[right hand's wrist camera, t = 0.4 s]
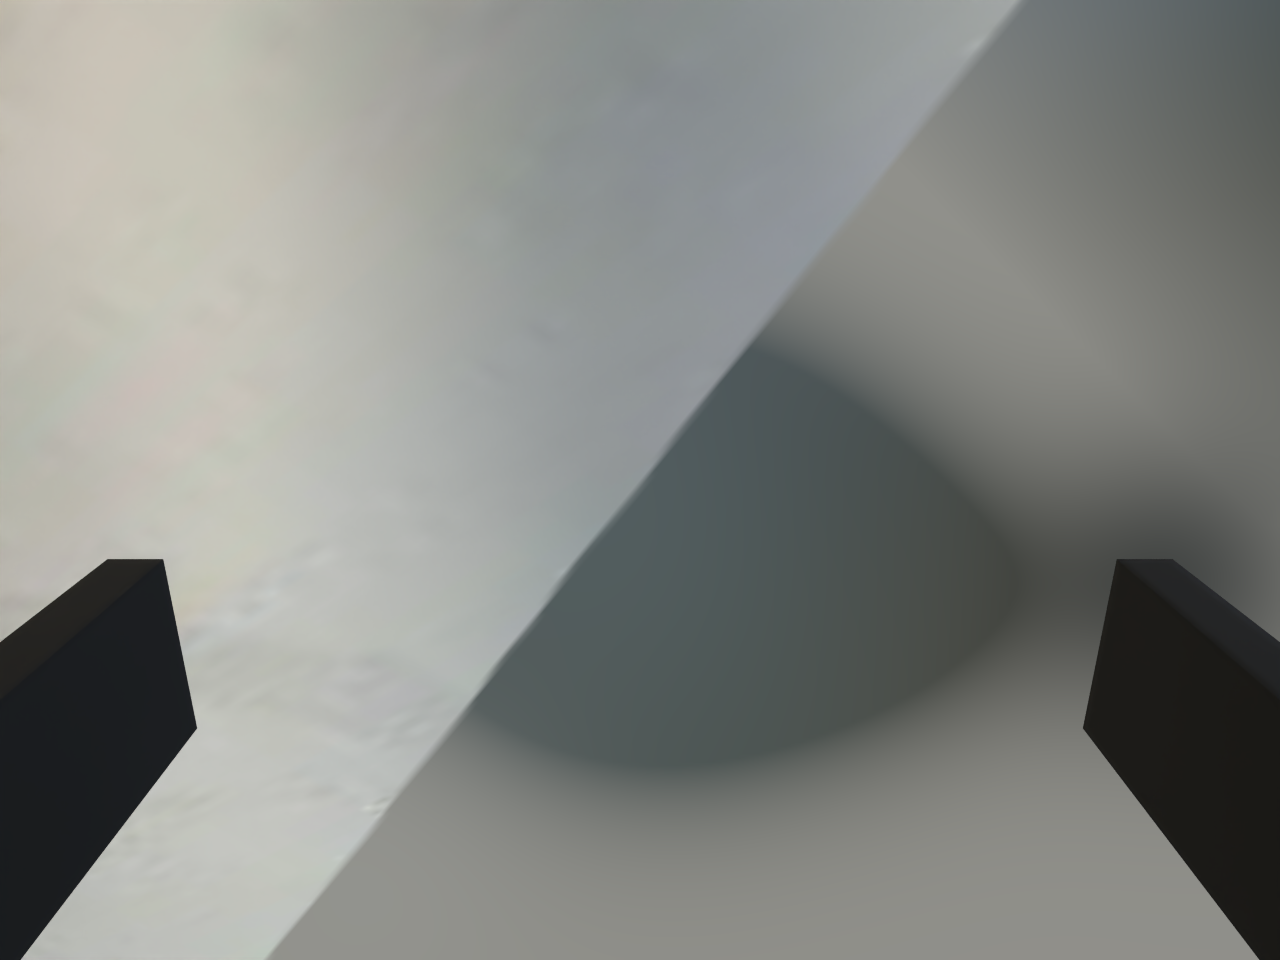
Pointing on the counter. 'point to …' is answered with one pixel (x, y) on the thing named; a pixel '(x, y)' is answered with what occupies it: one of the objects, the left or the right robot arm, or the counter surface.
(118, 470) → the counter surface
